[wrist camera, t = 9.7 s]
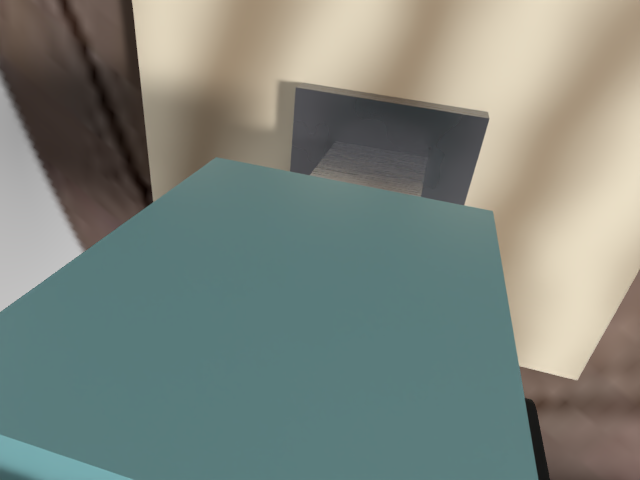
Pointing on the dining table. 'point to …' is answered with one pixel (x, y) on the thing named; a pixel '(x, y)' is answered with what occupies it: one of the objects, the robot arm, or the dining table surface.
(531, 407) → the robot arm
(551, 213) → the base board
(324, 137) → the post
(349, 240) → the teal block
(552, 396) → the dining table surface
